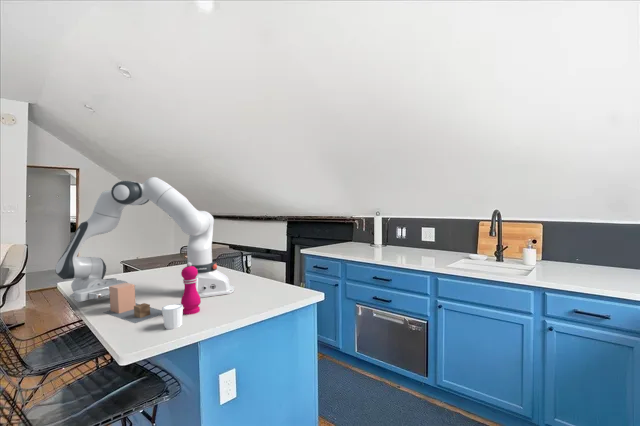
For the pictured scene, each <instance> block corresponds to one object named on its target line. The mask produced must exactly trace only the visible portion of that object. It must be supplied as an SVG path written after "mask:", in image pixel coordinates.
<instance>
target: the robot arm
mask: <svg viewBox="0 0 640 426" xmlns="http://www.w3.org/2000/svg"><path fill="white" fill-rule="evenodd" d="M150 201H151V202H152V203H153V204H154V205H155V206H157V207H158V208H160V209H161V210H162V211H163V212H165V213H166V214H167V215H168V216H169V217H171V218H172V220H173V221H174V222H175V223H176V225H178V227H180V229H181V231H182V233H183V234H186V235H189V237H188V238H189V239H188V244H187V245H186V246H187V247H186V254H187V255H186V256H187V263H188V262H190V263H191V264H192V265H191V266H193V267H195V268H196V269H197V271H198V275H197V276H196V278H197V279H196V280H197V282H196V289H197V292H198V294H199V296H200V299H201V298H208V297H215V296H222V295H223V296H224V295H230V294H232V293H234V292H235V289H236V288H235V285H233V284H231V282H230V279H229V277H228V275H226V274H225V273H223V272H221V271H220V270H218V264H217V262H214V261H213V251H212V249H213V248H212V247H213V246H212V245H213V237H214V235H213V234H214V224H215V218H214V215H212V214H211V213H210V212H208V211H206V210H198V209H197V208H196V207H195V206H193V204H192V203H191V202H190V201H189V200H188V198H187V196H185V195H183V194H182V193H181V192H179V191H178V190H177V189H176V188H174V186H171V184H169V183H167V182H166V181H165V180H163V179H161V178H159V177H157V176H153V177H148V178H147V179H146V180H145V181H144V182H142V183H141V182H137V181H132V180H131V181H130V180H121V181H117V182H116V183H115V184H114V185H113V186H112V188H111V189H110V190H105V191H102V193H100V194H99V197H98V199H97V200H96V203H95V205H94V207H93V210H92V213H91V215H90V216H89V217H88V219H86V220H85V221H83V222H81V223H80V224H79V225H78V226H77V228H76V230H75V232H74V233H73V235H72V237H71V239H70V241H69V243H68V245H67V247H66V249H65V250H64V252H63V253H62V255H61V257H60V258H59V259H58V261H57V263H56V264H55V274H56V275H57V276H58V277H59V278H60V279H62V280H72V281H71V285H70V286H71V287H70V288H71V289H72V292H73V293H72V294H71V293H70V294H69V297H70V298H74V300H75V301H76V302H79V303H80V302H85V301H88V300H93V301H94V300H95V301H96V300H100V299H102V298H105V297H106V296H110V291H109V286H113V285H118V284H122V283H129V282H128V281H126V280H121V279H117V278H115V277H113V278H105V276H106V272H107V265H106V263H105V261H104V260H103V259H102V258H101V257H95V256H93V257H92V256H79V253H80V251H81V249H82V247H83V245H84V244H85V242H86V241H87V240H89V239H90V238H91V237H94V236H99V235H102V234H103V235H104V234H107V233H110V232H112V231H114V230H115V229H116V228H117V227H118V225H119V223H120V221H121V220H120V219H121V216H122V212H123V211H124V209H125V207H127V206H142V205H145V204H147V203H148V202H150Z"/></svg>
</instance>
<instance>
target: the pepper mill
mask: <svg viewBox="0 0 640 426" xmlns="http://www.w3.org/2000/svg"><path fill="white" fill-rule="evenodd" d="M191 265H192V264H191V263H190V262H188V261H187V263H186V266H185V267H183V268H182V269H181V273H180V274H181V277H182V278H183V279H182V283H183V284H184V291H183V294H182V296H181V299H180V304H182V305H183V315H186V316H189V315H195V314H198V313H200V310H201V307H200V304H201V302H202V300H201V298H200V296H199V294H198V292H197V289H196V282H197V280H196V279H197V278H196V276H197V275H198V271H197V269H196V268H195V267H193V266H191Z"/></svg>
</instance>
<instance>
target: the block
mask: <svg viewBox="0 0 640 426" xmlns="http://www.w3.org/2000/svg"><path fill="white" fill-rule="evenodd" d="M138 304H139V305H136V306H134V316H135V317H138V318H142V317H145V316H148V315H150V307H151V304H149V303H145V302H143V303H138Z"/></svg>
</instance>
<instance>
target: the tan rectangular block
mask: <svg viewBox="0 0 640 426" xmlns="http://www.w3.org/2000/svg"><path fill="white" fill-rule="evenodd" d="M135 286H136V285H135V284H133V283H129V282H128V283H122V284H118V285H113V286H109V291H110V295H109V304H110V305H109V306H110V310H111V311H113V312H116V313H122V312H126V311H129V310H133V309H134V306H136V290H135V289H136V288H135Z"/></svg>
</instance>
